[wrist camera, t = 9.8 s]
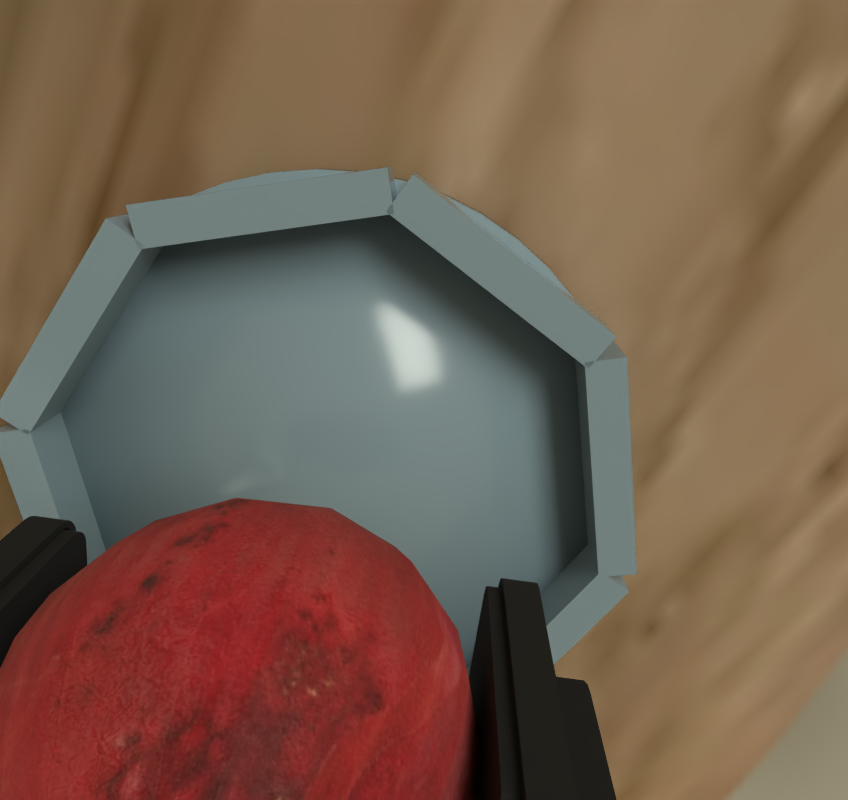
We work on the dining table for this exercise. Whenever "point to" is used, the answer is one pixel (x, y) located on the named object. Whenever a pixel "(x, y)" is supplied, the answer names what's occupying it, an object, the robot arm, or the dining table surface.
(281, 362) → the dish
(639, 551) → the dining table surface
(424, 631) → the onion
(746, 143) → the dining table surface
